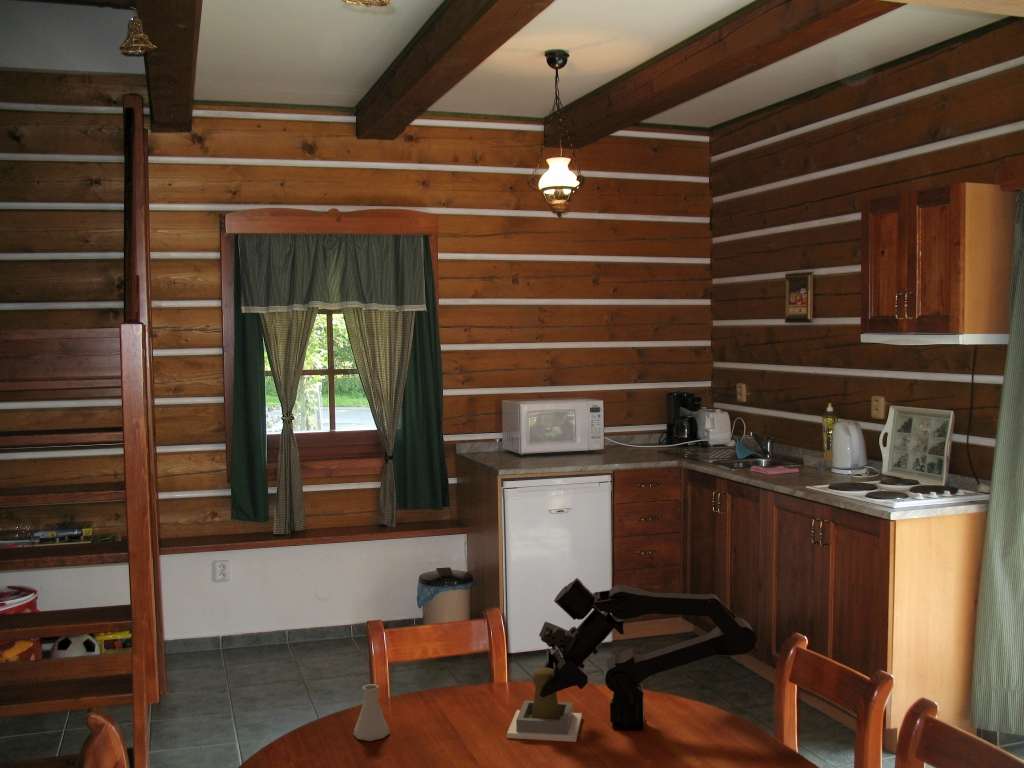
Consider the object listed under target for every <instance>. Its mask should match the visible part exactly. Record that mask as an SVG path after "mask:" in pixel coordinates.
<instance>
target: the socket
mask: <svg viewBox="0 0 1024 768" xmlns="http://www.w3.org/2000/svg"><path fill="white" fill-rule="evenodd" d="M533 705H534V700H527V699H526V700H524V701H523V702H522V706H521V708H520V709H516V712H515V714H514V716H513V718H512V721H511V723H510V725H509V728H508V729H507V730H508V731H507V733H506V738H507V739H519V740H520V739H521V740H523V739H524V740H537V741H538V740H539V741H552V742H553V741H554V742H555V741H558V742H569V743H570V742H575V743H576V742H577V738H578V735H579V731H580V728H581V723H582V720H583V719H582V718H583V717H582V715H583V713H582V712H574V703H573V702H568V701H567V702H565V701H558V707H559V713H560V720H556V719H537V718H532V714H533Z"/></svg>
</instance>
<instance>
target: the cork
mask: <svg viewBox="0 0 1024 768" xmlns="http://www.w3.org/2000/svg"><path fill="white" fill-rule="evenodd" d="M552 674H553V669H551V668H544V667H539V668H537V669H535V670H534V672H533V674H532V682H533V684H534V686H535V687H534V697H533V701H534V705H533V714H532V718H537V719H556V720H560V713H559V707H558V702H559V701H558V695H557V692H555V693H553V694H550V695H548V696H545V697H541V696H540V695H539V693H540V691H541V690H542V688H543V687H544V685H545V684H546V682H547V681H548V679H549V678H550V676H551V675H552Z"/></svg>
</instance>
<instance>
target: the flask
mask: <svg viewBox="0 0 1024 768" xmlns="http://www.w3.org/2000/svg"><path fill="white" fill-rule="evenodd" d="M361 688H362V691H363V702H362V706H361V710H360V712H359V716H358V719H357V722H356V724H355V727H354V729H353V733H352V734H353V735H354V737H355V738H356V740H360V741H361V740H362V741H367V742H371V741H376V740H380V739H384V738H386V736H388V735H389V734H391V731H390V727H389V725H388V723H387V720H386V719H385V717H384V713H383V711H382V708H381V705H380V700H379V696H378V693H379V691H378V690H379V689H380V687H379V685H378V684H375V683H374V684H373V683H369V684H365V685H364V686H362V687H361Z"/></svg>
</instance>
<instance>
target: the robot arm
mask: <svg viewBox="0 0 1024 768" xmlns="http://www.w3.org/2000/svg"><path fill="white" fill-rule="evenodd" d="M553 601H554V603H555V604H556V605H558V607H560V608H561V609H562V610H563V611H564V612H565V613H566V615H568V616H569V617H570V618H571V619H572V620H573V621H575V620H578V621H580V620H581V621H582V620H583V619H584V620H583V621H582V622H581V623H580V624H579V625H578V626H577V627H576V626H572V627H570V629H569V630H567V629H565V628H564V627H561V626H559V625H555V624H553V623H550V622H549V621H544V623H543V625H542V627H541V630H540V632H539V634H538V637H540V641H541V642H542V643H545V644H546V645H547V648H546V655H547V656H546V657H547V660H546V663H545V665H544V667H543V668H551V669H553V674H552V675H551V676H550V678H549V679H548V681H547V682H546V684H545V685H544V687H543V688H542V690H541V691H540V693H539V695H540V696H541V697H545V696H548V695H550V694H553V693H555V692H556V693H558V692H560V691H562V690H565V689H568V688H571V687H576V686H577V687H578V688H579V689H580V690H583V689H584V688H585V687H586V685H587V684H588V683H589V675H588V674H587V673H586V671H585V669H584V668H585V667H586V665H585V662H586V661H587V659H589V658H590V656H592V654H594V655H595V656H596V655H597V654H598V652H599V649H598V647H600V646H601V644H602V643H603V642H604V641H605V639H607V637H609V635H610V634H611V633H612V632H613V631H614V630H615V631H616V632H618V634H619V635H624V634H625V631H624V624H625V621H624V620H626V619H627V620H628V619H635V618H641V617H644V616H646V615H647V616H648V615H654V614H655V615H656V614H657V615H672V616H673V615H674V616H696V617H697V616H698V617H709V619H710V620H711V621H712V622H713V624H714V625H716V627H714V628H713V629H712V630H711V631H709V632H708V633H706V634H704V635H703V634H702V635H699V636H697V637H693V638H691V639H688V640H685V641H681V642H679V643H676V644H673V645H669V646H666V647H663V648H659V649H657V650H653V651H651V652H648V653H644V654H643V653H642V654H640V653H639V654H635V653H634V651H633V648H630V647H629V648H628V649H625V650H624V651H621V652H613V656H611V657H609V658H608V659H607V660H606V662H605V664H604V667H603V668H604V669H603V672H604V681H605V685H606V687H607V688H608V689H609V690H610V691H612V693H613V694H612V698H611V699H610V702H609V712H610V713H609V714H610V715H609V717H610V718H609V719H610V720H609V722H610V723H612V724H611V728H612V729H613V730H626V731H627V730H631V731H644V730H645V720H646V719H645V718H646V716H645V715H644V714H645V712H644V711H645V710H644V709H645V706H644V705H645V702H644V701H645V700H644V698H645V697H644V695H645V694H644V689H643V684H642V683H644V682H645V681H646V680H647V679H648V678H650V677H653V676H655V675H658V674H661V673H665V672H668V671H671V670H674V669H677V668H680V667H683V666H687V665H690V664H693V663H695V662H699V661H702V660H705V659H708V658H712V657H715V656H723V657H735V656H742V655H746V654H750V653H752V651H754V649H755V647H756V645H757V642H758V641H757V639H758V638H757V634H755V631H754V629H752V628H753V627H751V624H750V623H749V622H748V621H747V620H746V619H744V618H742V617H739V616H736V615H735V614H734V613H733V612H732V610H730V609H729V608H728V607H727V606H726V605H725V604H724V603H723V602H722V601H720V598H719V597H718V596H717V595H716V594H714V593H707V594H703V593H702V594H700V593H699V594H698V593H697V594H696V593H677V592H676V593H675V592H656V591H655V592H652V591H647V590H644V589H642V588H639V587H636V586H631V585H626V584H616V585H613V587H612V588H610V589H609V590H608V589H607V590H601V591H596V592H592V591H590V590H589V588H587V587H586V585H584V583H583V582H582V581H581V580H580V579H579V578H578V577H576V578H575V579H574V580H573V581H571V582H569V583H567V585H565V586H564V587H563V588H562V589H561V590H560V591H559V592H558V593H557V595H556V596H555V597H554V600H553ZM586 616H587V617H586ZM549 648H551V649H549Z"/></svg>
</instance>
